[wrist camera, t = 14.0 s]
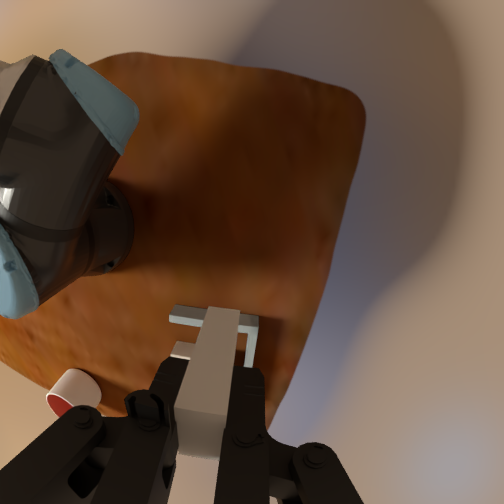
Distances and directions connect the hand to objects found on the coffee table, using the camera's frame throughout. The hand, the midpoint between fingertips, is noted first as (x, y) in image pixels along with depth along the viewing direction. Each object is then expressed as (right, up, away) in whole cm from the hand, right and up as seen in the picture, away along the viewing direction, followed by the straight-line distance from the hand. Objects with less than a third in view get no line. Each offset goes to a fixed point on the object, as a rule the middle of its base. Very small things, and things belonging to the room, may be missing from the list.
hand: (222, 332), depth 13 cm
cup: (-36, -25, +36) cm, 56 cm away
